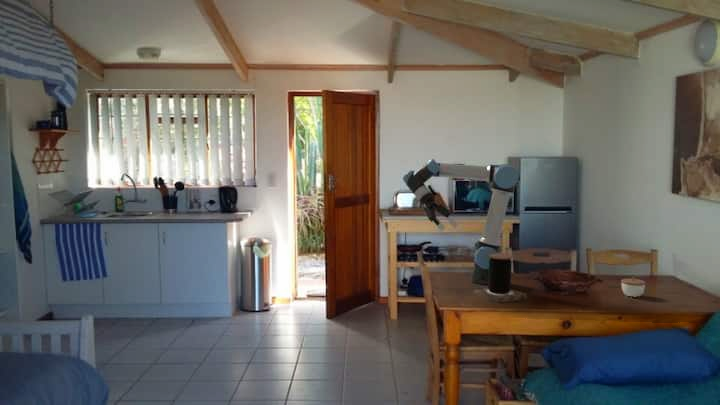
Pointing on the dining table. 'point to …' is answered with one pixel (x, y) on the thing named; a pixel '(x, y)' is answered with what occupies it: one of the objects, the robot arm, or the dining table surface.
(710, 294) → the dining table surface
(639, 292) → the lidded jar
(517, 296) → the walnut board
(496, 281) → the coffee jar
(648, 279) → the dining table surface
